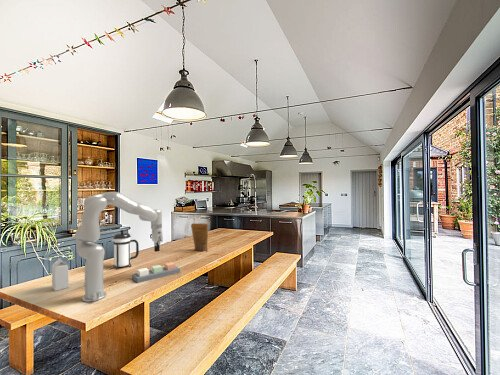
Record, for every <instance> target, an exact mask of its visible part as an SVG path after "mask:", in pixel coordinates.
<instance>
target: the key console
mask: <svg viewBox="0 0 500 375" xmlns="http://www.w3.org/2000/svg"><path fill="white" fill-rule="evenodd" d="M148 270H149V275H146V276H141V277H139V276H138V275H137V272H136V273H132V274H131V279H132V280H134V281H135V283H137V284H139V283H143V282H149V281H151V280H155V279H159V278H164V277H168V276H172V275H173V276H174V275H176V274H179V273H180V274H181V268H180V267H178V266H176V265H175V269H171V270H166V269H165V268H164V266H162V272H158V273H153V272H151V269H148Z"/></svg>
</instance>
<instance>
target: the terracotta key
mask: <svg viewBox="0 0 500 375" xmlns="http://www.w3.org/2000/svg"><path fill="white" fill-rule="evenodd" d="M163 265H164V266H163V267H164V268H165V269H166V270H171V269H175V266H176V263H174V262H173V261H171V262H166V263H164V264H163Z"/></svg>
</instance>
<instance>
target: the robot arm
mask: <svg viewBox="0 0 500 375" xmlns="http://www.w3.org/2000/svg"><path fill="white" fill-rule="evenodd" d="M83 206H84V210H83V212H82V214H81V226H79V227H78V228H77V229H76V231H75V235H74V238H75V246H76V252H77V254H78V256H79V257H80V258H82V259H85V264H84V295H82V297H81V300H82V302H85V303H89V302H96V301H99V300H103V299H104V298H106V296H107V293H108V292H107V291H105V290H104V282H105V281H104V260H105V252H106V251H105V249H104V247H103V246H102V245H101V244H98V243H96V242H98V241H99V240H100V238H101V229H100V215H101V213H102V212H103V210H105V209H106V207H107V206H115V207H116V208H118V209H119V210H122V211H124V212H126V213H128V214H132V215H137V216H138V218H139V220H140V221H144V222H150V229H151V241H152V242H153V246H154V252H160V245H161V243H162V242H163V240H164V239H163V238H164V237H163V230H162V229H163V219H162V218H163V215H162V210H161V209H152V208H150V207H149V206H146V205H144V204H142V203H140V202H137V201H135V200H133V199H132V198H130V197H128V196H126V195H125V194H123V193H121V192H118V191H107V192H103V193H99V194H94V195H89V196H87V197H86V198H85V199H84V200H83Z"/></svg>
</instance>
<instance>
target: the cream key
mask: <svg viewBox="0 0 500 375" xmlns="http://www.w3.org/2000/svg"><path fill="white" fill-rule="evenodd" d="M149 270H150V269H148V268H147V267H142V268H138V269H136V273H137V275H138V276H139V277H141V276H146V275H149Z"/></svg>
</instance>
